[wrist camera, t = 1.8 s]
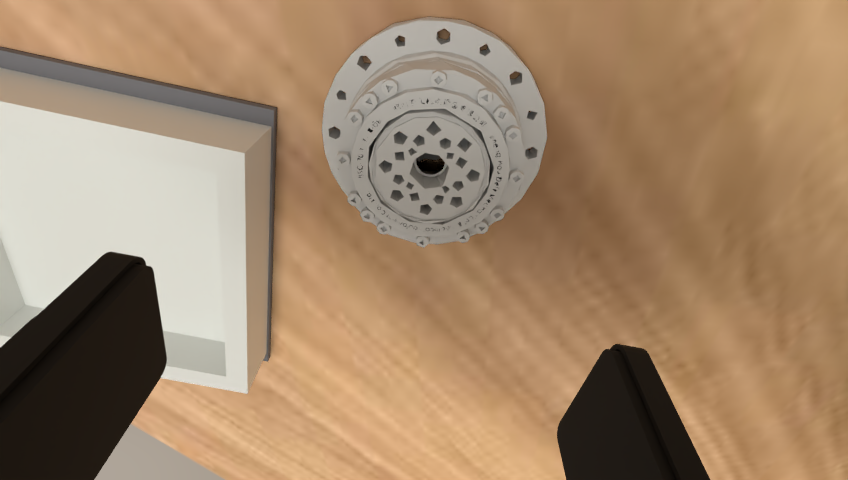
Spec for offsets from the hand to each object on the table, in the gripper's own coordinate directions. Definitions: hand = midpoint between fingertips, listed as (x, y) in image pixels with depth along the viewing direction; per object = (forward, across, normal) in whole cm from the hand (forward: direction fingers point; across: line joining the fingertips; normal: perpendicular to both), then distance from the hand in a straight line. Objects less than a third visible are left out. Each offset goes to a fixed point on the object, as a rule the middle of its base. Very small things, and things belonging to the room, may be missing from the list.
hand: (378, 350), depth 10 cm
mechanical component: (+14, -1, 0) cm, 14 cm away
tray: (+14, +14, +9) cm, 22 cm away
